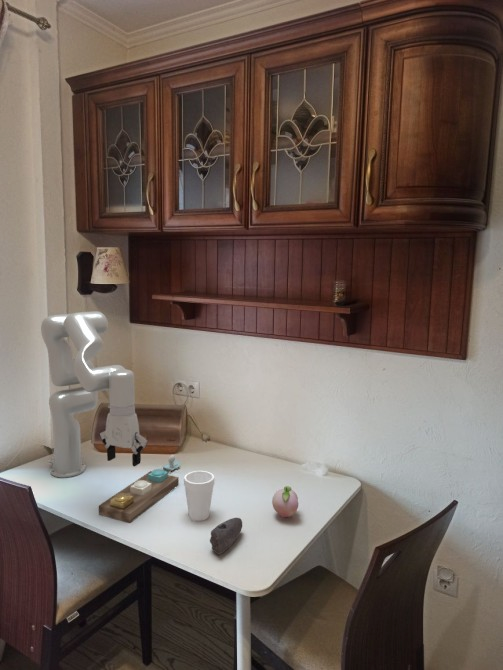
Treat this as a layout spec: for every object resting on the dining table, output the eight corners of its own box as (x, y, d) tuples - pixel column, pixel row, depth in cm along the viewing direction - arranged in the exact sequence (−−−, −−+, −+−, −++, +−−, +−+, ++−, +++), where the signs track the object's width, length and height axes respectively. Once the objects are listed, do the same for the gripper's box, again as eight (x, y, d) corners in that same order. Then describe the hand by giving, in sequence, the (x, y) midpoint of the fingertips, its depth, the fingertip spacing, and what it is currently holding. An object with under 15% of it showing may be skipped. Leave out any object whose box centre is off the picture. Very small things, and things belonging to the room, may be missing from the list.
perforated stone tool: (234, 529, 145) (234, 508, 144) (249, 534, 142) (249, 513, 141) (204, 554, 132) (204, 531, 131) (219, 560, 129) (219, 537, 128)
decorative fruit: (271, 509, 157) (272, 480, 155) (296, 509, 157) (297, 481, 155) (272, 524, 148) (272, 494, 146) (298, 525, 147) (299, 495, 146)
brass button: (110, 508, 151) (110, 498, 150) (120, 501, 156) (120, 491, 155) (123, 512, 149) (123, 501, 148) (133, 505, 154) (133, 494, 153)
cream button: (130, 494, 160) (130, 484, 160) (139, 488, 165) (139, 478, 164) (142, 498, 158) (142, 487, 158) (151, 491, 163) (151, 481, 162)
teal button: (148, 482, 169) (148, 473, 169) (156, 477, 174) (156, 467, 173) (160, 485, 167) (159, 475, 167) (167, 479, 172) (167, 470, 171)
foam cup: (201, 526, 145) (201, 486, 143) (178, 517, 150) (177, 479, 148) (219, 513, 153) (220, 475, 151) (196, 505, 158) (197, 468, 156)
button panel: (98, 514, 151) (98, 505, 151) (150, 478, 177) (150, 471, 176) (129, 523, 147) (129, 514, 146) (178, 485, 172) (178, 477, 172)
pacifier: (157, 471, 184) (169, 474, 181) (156, 455, 183) (168, 458, 180) (170, 464, 190) (181, 467, 187) (169, 449, 189) (181, 452, 186)
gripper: (92, 409, 148) (93, 461, 150) (138, 416, 141) (139, 471, 144) (108, 403, 155) (109, 453, 157) (152, 409, 148) (153, 462, 150)
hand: (123, 462), depth 150 cm, fingers open, 9 cm apart
